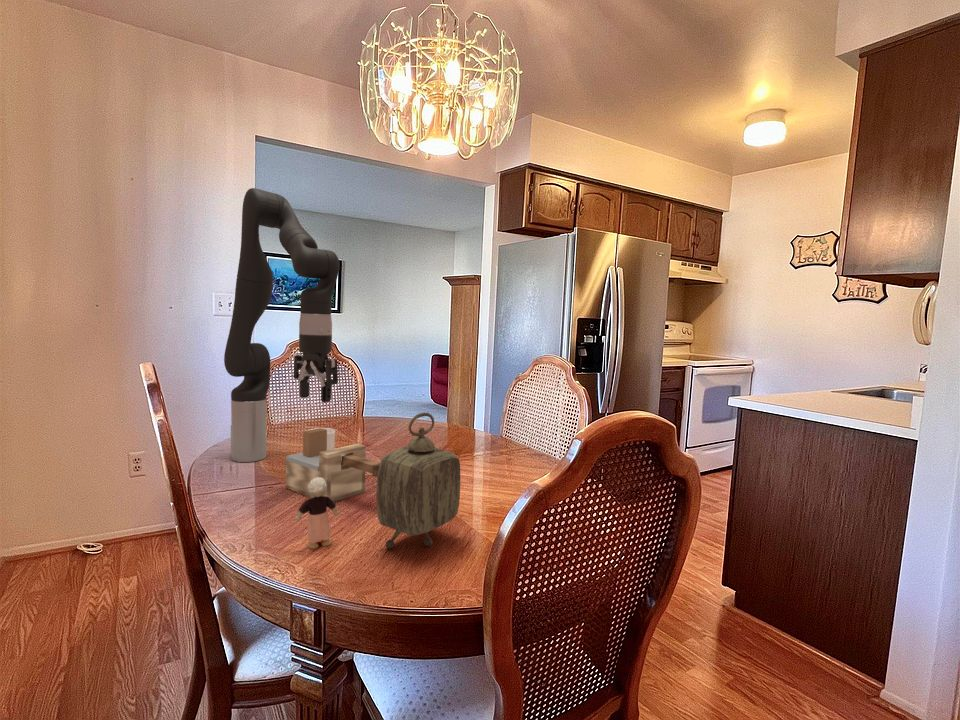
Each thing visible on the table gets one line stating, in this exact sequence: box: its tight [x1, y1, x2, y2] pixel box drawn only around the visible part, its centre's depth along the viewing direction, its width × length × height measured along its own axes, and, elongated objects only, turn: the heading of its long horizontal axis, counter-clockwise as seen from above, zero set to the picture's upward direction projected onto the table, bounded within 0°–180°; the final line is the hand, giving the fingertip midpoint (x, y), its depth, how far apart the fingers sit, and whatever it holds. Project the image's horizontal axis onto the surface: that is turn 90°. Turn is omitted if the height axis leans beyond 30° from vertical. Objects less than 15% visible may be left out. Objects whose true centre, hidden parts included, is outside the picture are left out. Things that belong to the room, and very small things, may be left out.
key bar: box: [342, 454, 380, 478], centre depth 115 cm, size 12×3×2 cm, turn 53°
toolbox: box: [285, 443, 367, 503], centre depth 123 cm, size 16×11×11 cm
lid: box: [285, 427, 345, 471], centre depth 124 cm, size 13×11×7 cm
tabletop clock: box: [375, 412, 461, 550], centre depth 96 cm, size 14×9×25 cm, turn 145°
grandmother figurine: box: [294, 477, 340, 549], centre depth 94 cm, size 8×4×13 cm, turn 131°
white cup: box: [306, 427, 336, 449], centre depth 142 cm, size 8×8×10 cm
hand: (314, 399), depth 124 cm, fingers open, 8 cm apart
